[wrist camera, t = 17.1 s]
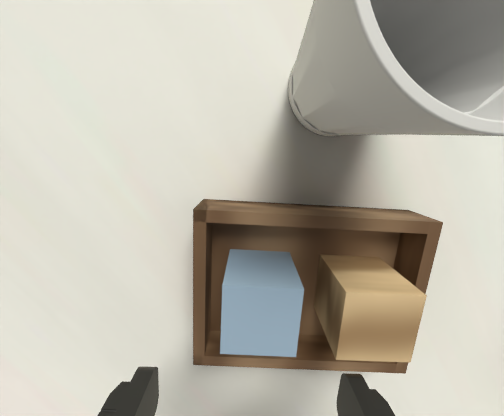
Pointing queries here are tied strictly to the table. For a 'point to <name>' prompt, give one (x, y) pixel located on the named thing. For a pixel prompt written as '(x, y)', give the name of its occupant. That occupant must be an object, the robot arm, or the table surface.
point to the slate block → (260, 304)
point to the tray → (300, 267)
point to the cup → (401, 68)
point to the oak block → (367, 309)
